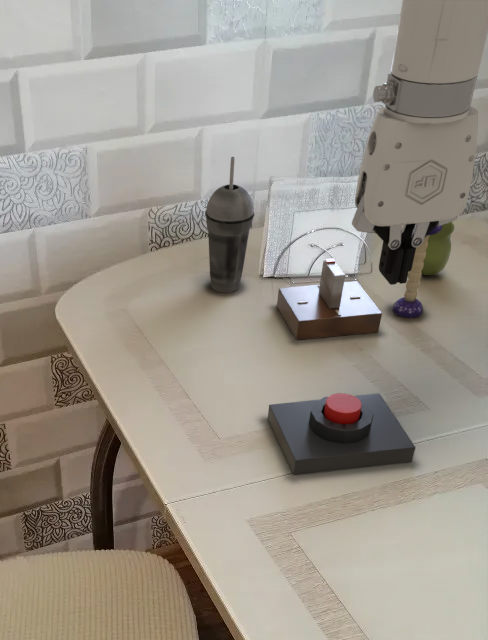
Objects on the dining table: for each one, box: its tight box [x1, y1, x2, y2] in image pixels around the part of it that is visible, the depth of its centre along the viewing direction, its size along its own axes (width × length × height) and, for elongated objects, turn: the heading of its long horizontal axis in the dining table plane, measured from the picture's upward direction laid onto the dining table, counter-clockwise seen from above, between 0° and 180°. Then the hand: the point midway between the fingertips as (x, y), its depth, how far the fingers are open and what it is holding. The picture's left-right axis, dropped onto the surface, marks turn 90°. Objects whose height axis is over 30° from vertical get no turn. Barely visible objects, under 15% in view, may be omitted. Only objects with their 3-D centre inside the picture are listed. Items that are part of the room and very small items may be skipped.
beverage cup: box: [204, 156, 255, 293], centre depth 119 cm, size 7×7×20 cm
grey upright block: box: [319, 258, 346, 308], centre depth 113 cm, size 5×2×5 cm, turn 7°
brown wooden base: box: [276, 280, 383, 341], centre depth 115 cm, size 12×10×3 cm
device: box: [267, 392, 416, 476], centre depth 94 cm, size 14×11×4 cm
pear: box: [421, 221, 455, 276], centre depth 123 cm, size 6×5×10 cm
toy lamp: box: [392, 225, 442, 319], centre depth 112 cm, size 5×5×17 cm
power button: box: [324, 392, 362, 425], centre depth 92 cm, size 4×4×2 cm
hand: (393, 278), depth 86 cm, fingers closed
